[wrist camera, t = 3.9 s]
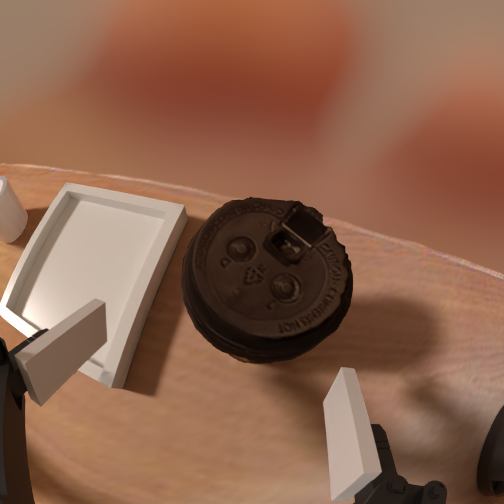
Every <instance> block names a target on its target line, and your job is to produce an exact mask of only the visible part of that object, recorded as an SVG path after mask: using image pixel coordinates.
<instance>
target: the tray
mask: <svg viewBox="0 0 504 504" xmlns="http://www.w3.org/2000/svg"><path fill="white" fill-rule="evenodd" d="M187 221H188V218H187V214H186V210H185V205H181V204H176V203H172V202H167V201H162V200H157V199H152V198H147V197H143V196H138V195H132V194H127V193H122V192H117V191H112V190H106V189H101V188H96V187H90V186H85V185H79V184H73V183H68V182H66V184H65V185H64V186H63V188H62V189H61V191H60V192H59V194H58V195H57V196H56V198H55V199H54V201H53V202H52V204H51V205H50V207H49V209H48V210H47V212H46V213H45V215H44V216H43V218H42V220H41V221H40V223H39V225H38V226H37V228H36V230H35V232H34V233H33V235H32V237H31V239H30V240H29V242H28V244H27V246H26V248H25V250H24V252H23V254H22V256H21V258H20V260H19V262H18V264H17V266H16V268H15V270H14V272H13V274H12V276H11V279H10V281H9V283H8V286H7V288H6V290H5V293H4V295H3V298H2V300H1V303H0V315H1V316H2V317H3V318H4V319H5V320H7V321H8V322H9V323H10V324H11V325H13V326H14V327H15V328H16V329H18V330H19V331H20V332H22V333H23V334H24V335H26V336H27V337H28V338H29V337H30V336H31V337H32V335H33V334H35V333H36V332H37V331H40V330H43V329H46V328H47V329H49V330H50V329H51V328H52V327H54V326H55V325H57V324H58V323H60V322H61V321H62V320H64V319H65V318H67V317H68V316H70V315H71V314H73V313H74V312H75V311H77V310H78V309H80V308H81V307H83V306H84V305H86V304H87V303H89V302H90V301H92V300H93V299H95V298H96V299H99V300H101V301H104V302H106V326H107V342H106V343H105V344H104V345H103V346H102V347H101V348H100V349H99V350H98V351H97V352H96V353H95V354H94V355H93V356H92V357H91V358H89V359H88V360H87V361H86V362H85V363H84V364H83V365H82V366H81V367H80V368H79V369H78V370H79V371H80V372H82V373H84V374H86V375H87V376H89V377H91V378H93V379H95V380H97V381H99V382H101V383H102V384H104V385H106V386H108V387H110V388H118V389H123V387H124V384H125V380H126V377H127V374H128V371H129V368H130V365H131V362H132V359H133V356H134V353H135V350H136V347H137V344H138V341H139V338H140V336H141V333H142V330H143V327H144V325H145V322H146V319H147V317H148V314H149V311H150V309H151V306H152V303H153V301H154V298H155V296H156V293H157V291H158V288H159V286H160V283H161V281H162V278H163V276H164V274H165V271H166V269H167V266H168V264H169V262H170V259H171V257H172V255H173V252H174V250H175V248H176V245H177V243H178V241H179V239H180V236H181V234H182V232H183V230H184V228H185V225H186V223H187Z"/></svg>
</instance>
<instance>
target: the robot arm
mask: <svg viewBox="0 0 504 504" xmlns="http://www.w3.org/2000/svg"><path fill="white" fill-rule="evenodd" d="M106 342H107V326H106V302H104V301H101V300H99V299H96V298H95V299H93V300H92V301H90V302H89V303H87V304H86V305H84V306H83V307H81V308H80V309H78V310H77V311H75V312H74V313H73V314H71V315H70V316H68V317H67V318H65V319H64V320H62V321H61V322H60V323H58V324H57V325H55V326H54V327H52V328H51V329H50V330H49V329H47V328H46V329H43V330H40V331H37V332H36V333H35V334H33V335H32V337H31V336H30V337H29V338H28V339H27V340H25V341H23V342H22V343H21V344H19V345H18V346H16V347H15V348H14V349H12V350H11V351H10V352H8V350H7V347H6V344H5V341H4V340H3V339H2V338H1V337H0V504H35V502H34V497H33V493H32V487H31V482H30V475H29V468H28V460H27V450H26V435H25V395H24V393H25V392H26V391H28V393H29V396H30V398H31V399H32V400H33V401H34V402H36V403H37V404H38V405H40V406H42V405H43V404H44V403H45V402H46V401H47V400H48V399H49V398H50V397H51V396H52V395H53V394H54V393H55V392H56V391H57V390H58V389H59V388H60V387H61V386H62V385H63V384H64V383H65V382H66V381H67V380H68V379H69V378H70V377H71V376H72V375H73V374H74V373H75V372H76V371H77V370H78V369H79V368H80V367H81V366H82V365H83V364H84V363H85V362H86V361H87V360H88V359H89V358H91V357H92V356H93V355H94V354H95V353H96V352H97V351H98V350H99V349H100V348H101V347H102V346H103V345H104V344H105V343H106ZM323 407H324V416H325V426H326V436H327V447H328V459H329V473H330V488H331V501H348V500H350V499H351V498H352V497H353V496H354V497H355V503H353V504H446V497H447V489H446V487H445V485H444V484H443V483H442V482H439V481H430V482H428V483H427V484H426V485H425V486H418V485H412V484H408V482H407V481H406V479H405V478H403V477H402V476H400V475H398V474H397V472H396V468H395V464H394V460H393V456H392V453H391V449H390V446H389V442H388V439H387V435H386V432H385V431H384V430H383V428H382V427H381V426H380V424H370V421H369V417H368V413H367V410H366V406H365V403H364V399H363V396H362V392H361V389H360V385H359V382H358V379H357V375H356V372H355V369H353V368H346V367H341V369H340V371H339V373H338V375H337V377H336V379H335V381H334V383H333V384H332V386H331V388H330V390H329V392H328V394H327V396H326V398H325V399H324V401H323ZM478 487H479V490H480V492H481V493H482V494H483V495H486V496H493V497H499V496H503V495H504V406H503V407H502V409H501V410H500V412H499V413H498V415H497V417H496V419H495V420H494V422H493V424H492V427H491V429H490V431H489V434H488V436H487V439H486V442H485V444H484V447H483V451H482V454H481V458H480V463H479V468H478Z"/></svg>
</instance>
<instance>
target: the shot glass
mask: <svg viewBox="0 0 504 504" xmlns="http://www.w3.org/2000/svg"><path fill="white" fill-rule="evenodd" d="M27 221H28V214H27V212H26V210H25V209H24V207H23V205H22V204H21V202H20V201H19V199H18V197H17V196H16V194H15V192H14V191H13V189H12V187H11V185H10V184H9V182H8V180H7V178H6V177H5V176H0V239H1V240H2V241H3V242H5V243H6V244H8V243H12V242H14V241H15V240H16V239H17V238H18V237H19V236H20V235H21V234H22V232H23V231H24V229H25V227H26V224H27Z"/></svg>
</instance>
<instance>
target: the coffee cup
mask: <svg viewBox="0 0 504 504" xmlns="http://www.w3.org/2000/svg"><path fill="white" fill-rule="evenodd" d="M322 217H323V215H322V214H321V213H319V212H318V211H317V210H316V209H315V208H313V207H307V206H305V205H303V204H302V203H301V202H299V201H284V200H272V199H271V200H270V199H262V198H252V197H250V198H246V199H245V200H232V201H230V202H227V203H225V204H224V205H223V206H222V207H221V208H218V209H217V210H216V211H215V212H214V213H213V214H212V215H211V216H210V217H209V218H208V220H207V221H206V222H205V223H204V224H203V226H202V227H201V228H200V229H199V231H198V232H197V233H196V234H195V235H194V237H193V238H192V240H191V242H190V243H189V245H188V248H187V251H186V253H185V256H184V259H183V265H182V270H181V287H182V292H183V299H184V304H185V306H186V309H187V312H188V314H189V316H190V318H191V320H192V322H193V324H194V326H195V328H196V329H197V330H198V331H199V332H200V333H201V334H202V336H203V337H204V338H205V339H206V340H207V341H208V342H210V343H211V344H212V345H213V346H214V347H215V348H217V349H218V350H220V351H222V352H224V353H228V354H229V355H230V356H232V357H233V358H235V359H237V360H239V361H241V362H245V363H272V362H277V361H285V360H290V359H294V358H296V357H298V356H300V355H302V354H304V353H306V352H308V351H310V350H311V349H312V348H314V347H315V346H316V345H318V344H319V343H320V342H321V341H322V340H324V339H325V338H326V337H328V336H329V335H330V334H332V333H334V332H335V331H336V330H337V329H338V327H339V325H340V323H341V322H342V320H343V318H344V317H345V316H346V314H347V312H348V309H349V307H350V304H351V298H352V292H353V274H352V270H351V262H350V260H348V254H347V253H345V246H344V245H342V244H340V243H339V242H338V241H337V238H336V235H335V233H334V231H333V229H332V228H331V227H326V226H324V225H323V223H322V222H323V218H322Z"/></svg>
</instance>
